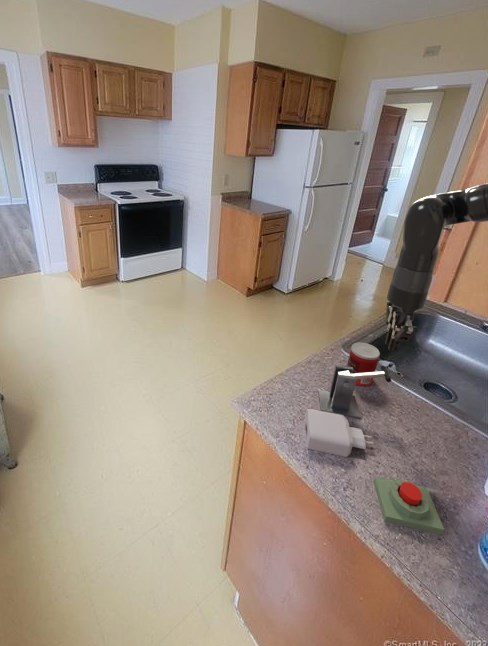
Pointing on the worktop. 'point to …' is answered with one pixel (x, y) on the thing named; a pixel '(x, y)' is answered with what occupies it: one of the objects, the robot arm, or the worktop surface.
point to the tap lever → (369, 374)
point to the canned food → (363, 361)
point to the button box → (407, 507)
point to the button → (410, 493)
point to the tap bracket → (340, 395)
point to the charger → (332, 433)
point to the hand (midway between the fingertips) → (391, 347)
